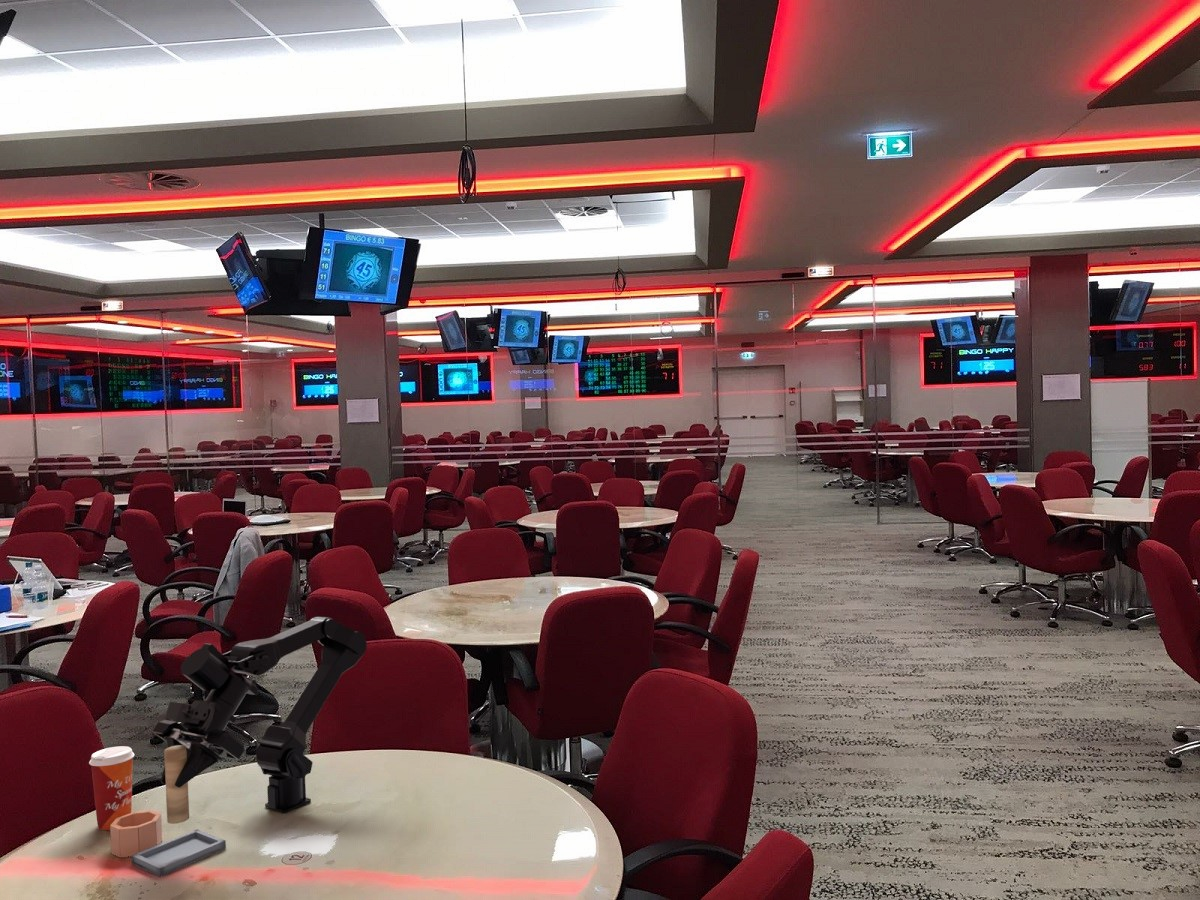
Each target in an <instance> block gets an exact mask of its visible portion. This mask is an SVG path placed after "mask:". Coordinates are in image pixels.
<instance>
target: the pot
mask: <svg viewBox="0 0 1200 900" xmlns="http://www.w3.org/2000/svg"><path fill="white" fill-rule="evenodd" d="M109 831H110V851H111V852H110V853H112V855H113V854H114V856H115V855H116V857H118V858H121V857H122V858H129V857H130V856H131V857H132V855H135V854H137V853H139V852H142V851H144V850H147V849H149V848H152V847H154V846H157V845H159V844H162V842H163V825H162V813H161V812H158V811H155V810H154V809H150V810H140V811H139V810H138V811H134V812H132V811H131V813H130V814H127V815H124V816H121V817H119V818H116V819H115V821H114V822H113V823H112V824H111V825H110V830H109ZM161 841H162V842H161ZM128 856H129V857H128Z"/></svg>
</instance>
